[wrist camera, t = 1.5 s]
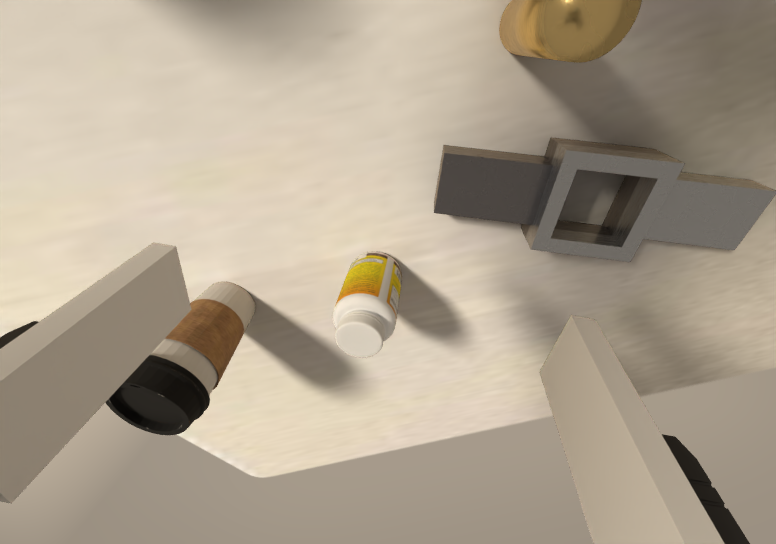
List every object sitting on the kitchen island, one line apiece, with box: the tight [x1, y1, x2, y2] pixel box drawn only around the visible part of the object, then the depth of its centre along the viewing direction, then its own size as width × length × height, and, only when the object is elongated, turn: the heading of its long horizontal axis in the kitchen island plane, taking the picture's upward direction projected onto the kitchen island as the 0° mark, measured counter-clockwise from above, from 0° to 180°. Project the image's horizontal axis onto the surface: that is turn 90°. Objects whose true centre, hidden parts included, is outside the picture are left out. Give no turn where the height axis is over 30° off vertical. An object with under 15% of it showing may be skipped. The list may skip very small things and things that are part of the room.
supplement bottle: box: [333, 251, 402, 358], centre depth 32 cm, size 6×6×10 cm
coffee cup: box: [106, 282, 255, 435], centre depth 35 cm, size 8×8×15 cm
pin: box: [499, 0, 642, 62], centre depth 19 cm, size 4×4×12 cm
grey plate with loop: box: [434, 137, 776, 262], centre depth 28 cm, size 24×8×4 cm, turn 85°
